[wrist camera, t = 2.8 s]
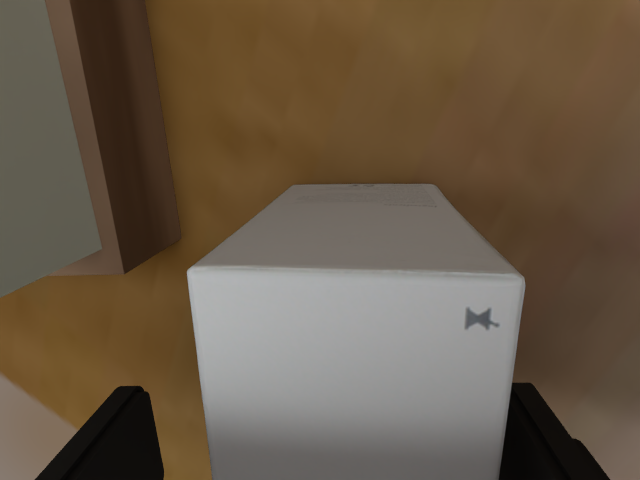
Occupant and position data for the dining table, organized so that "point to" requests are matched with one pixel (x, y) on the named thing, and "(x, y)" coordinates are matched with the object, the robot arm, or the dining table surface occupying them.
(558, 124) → the dining table surface
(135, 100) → the walnut slab
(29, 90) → the grey green slab
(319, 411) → the skincare box
